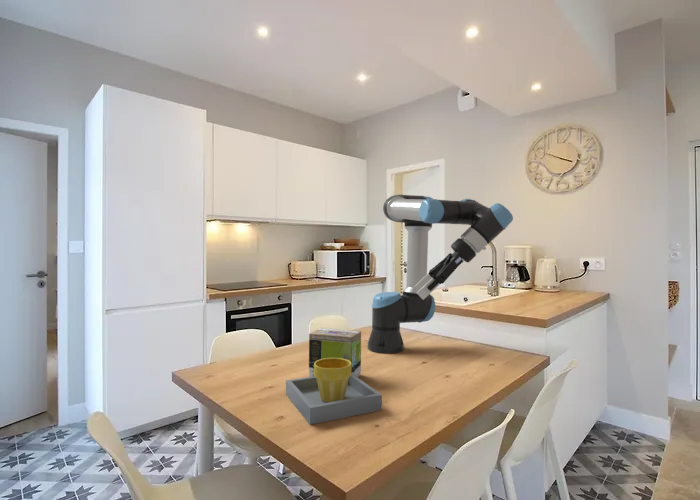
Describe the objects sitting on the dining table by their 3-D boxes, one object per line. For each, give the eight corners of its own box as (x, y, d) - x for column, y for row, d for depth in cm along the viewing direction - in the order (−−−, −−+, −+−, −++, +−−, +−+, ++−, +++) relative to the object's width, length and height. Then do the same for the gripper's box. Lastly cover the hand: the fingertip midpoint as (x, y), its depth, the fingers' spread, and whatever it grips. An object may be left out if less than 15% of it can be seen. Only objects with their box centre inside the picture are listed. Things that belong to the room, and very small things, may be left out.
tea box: (361, 374, 126) (362, 330, 125) (351, 384, 116) (352, 337, 116) (320, 368, 131) (320, 326, 130) (307, 378, 121) (308, 332, 121)
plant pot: (313, 391, 108) (314, 357, 108) (349, 390, 109) (350, 356, 109) (313, 406, 98) (313, 369, 98) (352, 405, 99) (353, 368, 98)
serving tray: (285, 394, 108) (286, 380, 108) (348, 384, 117) (348, 371, 117) (309, 424, 90) (310, 408, 90) (381, 409, 99) (381, 394, 99)
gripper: (487, 256, 103) (430, 309, 105) (468, 252, 128) (423, 295, 130) (467, 236, 103) (412, 289, 105) (452, 237, 128) (407, 280, 130)
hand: (418, 293), depth 118 cm, fingers open, 13 cm apart
